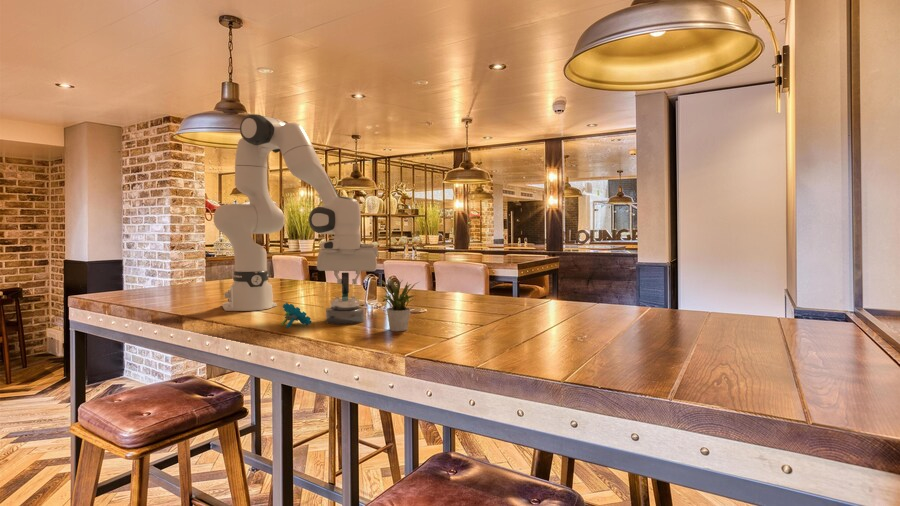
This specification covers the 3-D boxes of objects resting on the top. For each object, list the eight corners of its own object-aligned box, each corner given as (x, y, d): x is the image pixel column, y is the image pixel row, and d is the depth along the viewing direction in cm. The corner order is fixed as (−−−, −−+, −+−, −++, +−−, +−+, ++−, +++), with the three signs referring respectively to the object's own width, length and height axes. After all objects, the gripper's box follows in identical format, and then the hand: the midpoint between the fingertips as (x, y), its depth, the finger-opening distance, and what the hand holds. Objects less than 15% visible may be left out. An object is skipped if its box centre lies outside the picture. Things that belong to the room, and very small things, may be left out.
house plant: (360, 331, 142) (360, 276, 141) (384, 323, 155) (384, 272, 154) (404, 336, 137) (404, 278, 136) (425, 327, 150) (425, 274, 149)
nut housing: (319, 320, 159) (319, 307, 159) (352, 316, 167) (352, 303, 167) (336, 326, 150) (336, 312, 150) (370, 321, 158) (370, 308, 158)
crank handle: (359, 309, 155) (359, 276, 154) (330, 310, 153) (330, 276, 153) (358, 302, 170) (358, 272, 170) (332, 303, 169) (331, 272, 168)
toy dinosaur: (318, 321, 149) (294, 300, 145) (306, 337, 146) (282, 316, 141) (301, 321, 157) (278, 301, 153) (290, 336, 154) (266, 316, 149)
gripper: (378, 244, 171) (378, 283, 172) (319, 243, 170) (319, 282, 170) (377, 244, 165) (377, 285, 166) (315, 243, 163) (315, 284, 164)
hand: (347, 284), depth 168 cm, fingers open, 4 cm apart
